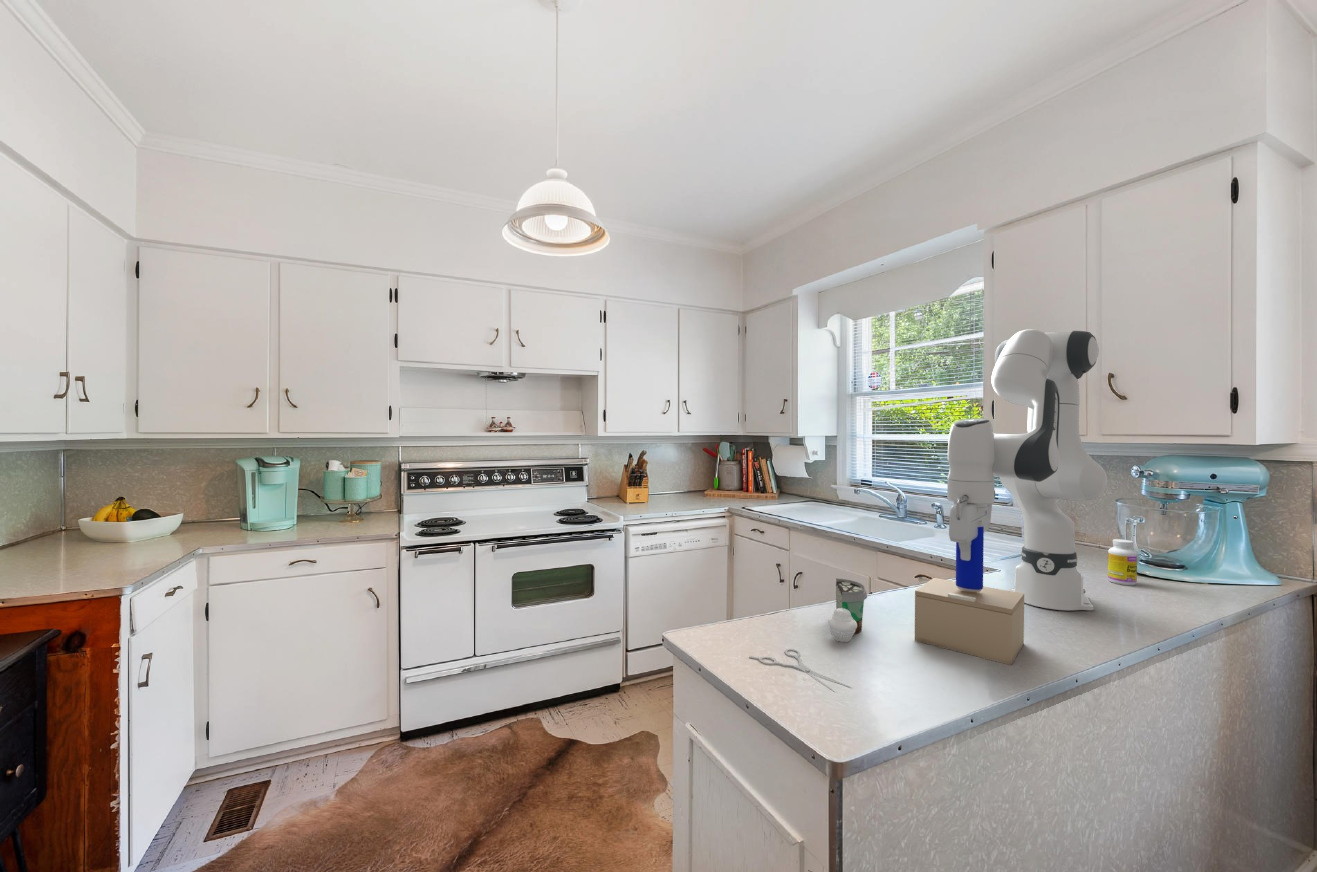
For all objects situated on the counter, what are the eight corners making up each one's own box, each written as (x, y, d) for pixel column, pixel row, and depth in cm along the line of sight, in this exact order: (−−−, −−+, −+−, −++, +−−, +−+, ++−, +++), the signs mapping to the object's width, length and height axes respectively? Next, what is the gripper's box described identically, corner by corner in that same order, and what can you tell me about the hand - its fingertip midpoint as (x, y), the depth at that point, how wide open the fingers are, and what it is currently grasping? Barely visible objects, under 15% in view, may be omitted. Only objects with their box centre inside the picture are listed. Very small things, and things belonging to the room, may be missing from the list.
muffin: (823, 640, 119) (823, 608, 118) (833, 632, 123) (834, 601, 123) (851, 647, 115) (851, 614, 114) (861, 638, 119) (861, 607, 119)
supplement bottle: (1128, 587, 159) (1128, 543, 159) (1102, 581, 165) (1103, 539, 165) (1142, 584, 161) (1142, 541, 161) (1116, 578, 168) (1117, 537, 167)
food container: (871, 639, 119) (871, 594, 119) (842, 637, 120) (842, 592, 120) (862, 620, 131) (862, 579, 131) (835, 618, 132) (835, 577, 132)
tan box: (933, 623, 129) (933, 582, 128) (1023, 644, 116) (1024, 598, 116) (914, 640, 118) (914, 595, 118) (1011, 665, 106) (1012, 614, 106)
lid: (933, 581, 128) (933, 575, 128) (1024, 597, 116) (1024, 590, 116) (914, 595, 118) (915, 587, 118) (1012, 614, 106) (1012, 606, 106)
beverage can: (981, 587, 119) (981, 519, 118) (984, 593, 114) (985, 523, 114) (954, 584, 121) (955, 517, 120) (956, 590, 116) (957, 521, 116)
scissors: (786, 645, 115) (866, 682, 98) (786, 648, 115) (866, 686, 98) (748, 656, 109) (826, 697, 92) (748, 660, 109) (826, 702, 92)
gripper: (975, 499, 107) (974, 568, 107) (997, 490, 122) (996, 551, 122) (940, 496, 111) (940, 563, 112) (965, 488, 127) (965, 547, 127)
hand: (969, 557), depth 117 cm, fingers closed on beverage can, 5 cm apart
